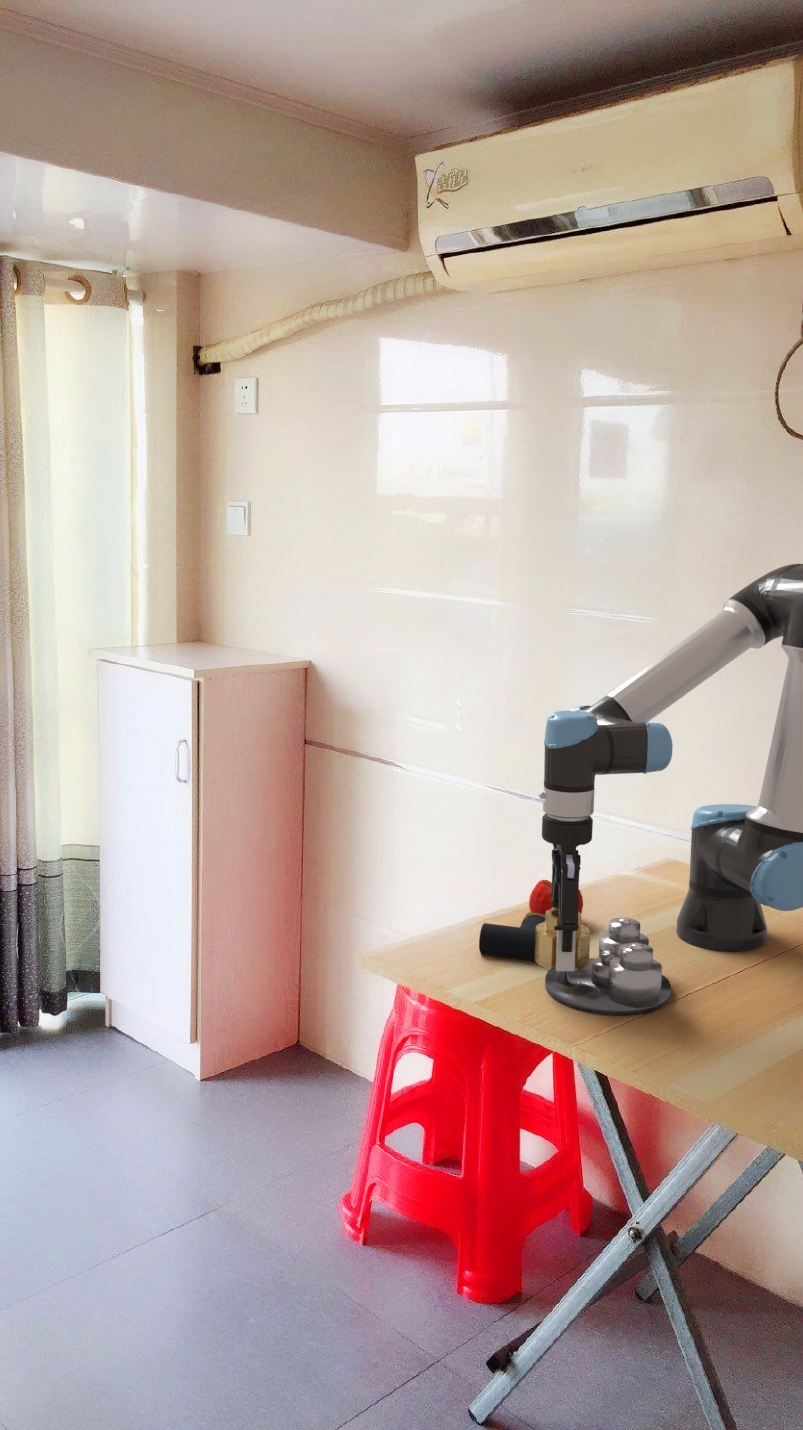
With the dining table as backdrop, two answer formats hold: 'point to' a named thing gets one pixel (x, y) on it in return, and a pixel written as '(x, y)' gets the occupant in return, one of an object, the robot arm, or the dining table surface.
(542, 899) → the tomato
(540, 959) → the brass stepped collar
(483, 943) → the pipe connector
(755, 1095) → the dining table surface
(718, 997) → the dining table surface
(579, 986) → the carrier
